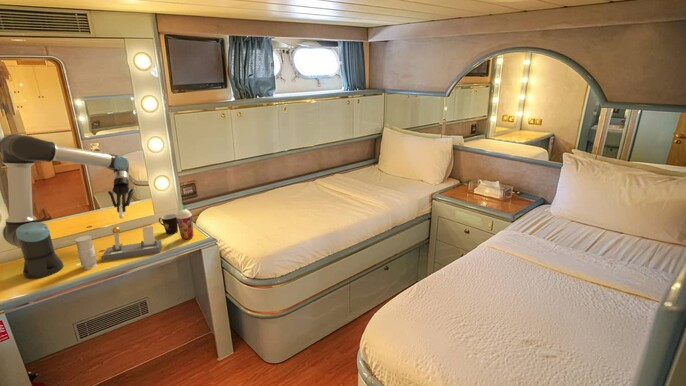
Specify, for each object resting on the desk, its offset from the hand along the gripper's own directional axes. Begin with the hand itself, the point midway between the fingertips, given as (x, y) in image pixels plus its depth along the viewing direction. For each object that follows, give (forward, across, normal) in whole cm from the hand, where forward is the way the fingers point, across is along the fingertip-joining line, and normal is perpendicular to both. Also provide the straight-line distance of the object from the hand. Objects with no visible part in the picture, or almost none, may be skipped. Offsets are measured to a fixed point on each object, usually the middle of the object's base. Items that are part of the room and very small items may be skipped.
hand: (121, 217), depth 207 cm
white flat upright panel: (+20, -14, +2) cm, 24 cm away
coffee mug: (+5, -22, -17) cm, 29 cm away
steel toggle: (+20, +1, +2) cm, 20 cm away
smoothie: (+15, -32, -7) cm, 36 cm away
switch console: (+22, -6, 0) cm, 23 cm away
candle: (+28, +12, +6) cm, 31 cm away
